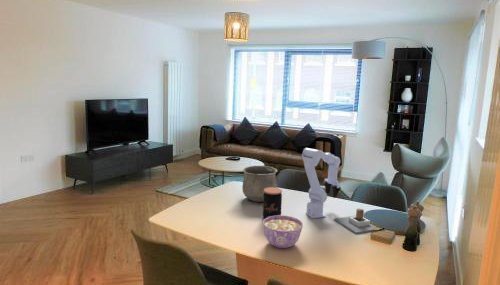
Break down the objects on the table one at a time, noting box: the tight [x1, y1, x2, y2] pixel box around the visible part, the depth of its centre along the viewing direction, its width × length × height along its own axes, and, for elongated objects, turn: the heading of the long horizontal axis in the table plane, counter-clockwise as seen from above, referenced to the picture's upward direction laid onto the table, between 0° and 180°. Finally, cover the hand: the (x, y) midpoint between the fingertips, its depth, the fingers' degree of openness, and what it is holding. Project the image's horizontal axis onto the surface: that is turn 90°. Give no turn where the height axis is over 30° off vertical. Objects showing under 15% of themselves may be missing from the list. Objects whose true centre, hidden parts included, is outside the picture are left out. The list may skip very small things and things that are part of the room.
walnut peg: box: [355, 208, 365, 221], centre depth 208 cm, size 4×4×8 cm
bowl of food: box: [262, 214, 304, 249], centre depth 181 cm, size 20×20×12 cm
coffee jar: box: [262, 187, 283, 220], centre depth 212 cm, size 11×11×18 cm
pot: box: [241, 165, 279, 203], centre depth 244 cm, size 25×24×21 cm
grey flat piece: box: [334, 215, 376, 235], centre depth 209 cm, size 20×20×4 cm
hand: (331, 195), depth 230 cm, fingers open, 7 cm apart
